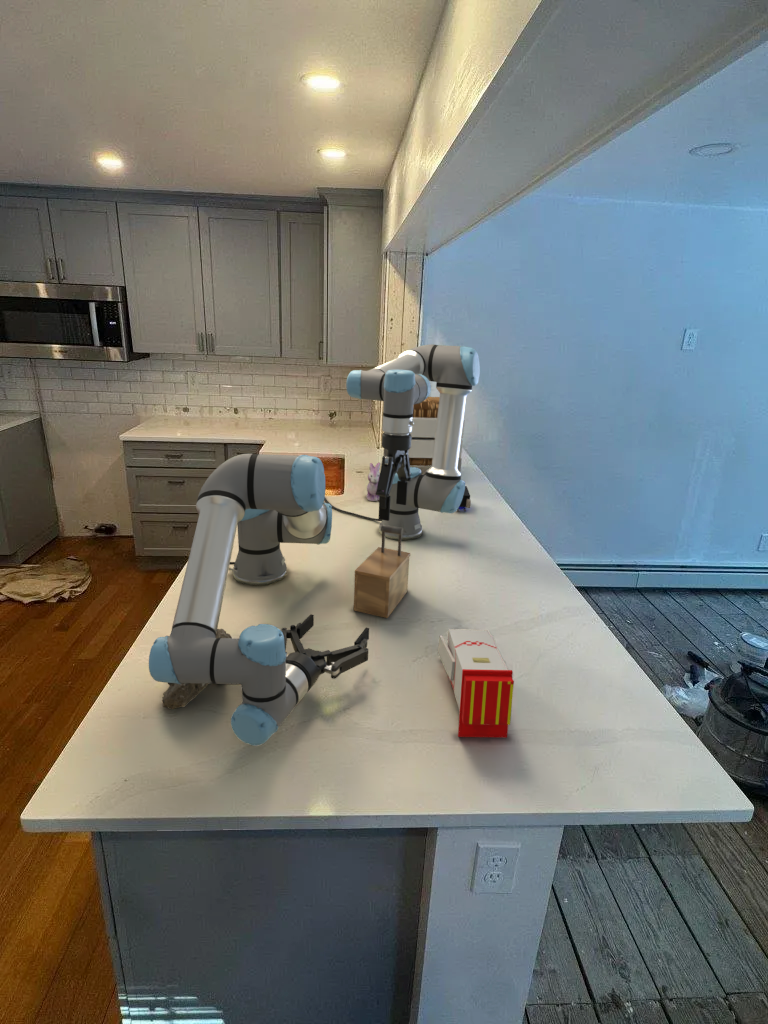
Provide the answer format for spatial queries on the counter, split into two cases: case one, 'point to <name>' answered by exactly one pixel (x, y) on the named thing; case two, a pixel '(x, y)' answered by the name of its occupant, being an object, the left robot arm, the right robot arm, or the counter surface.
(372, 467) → the figurine
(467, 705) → the toy
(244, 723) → the left robot arm
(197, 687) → the fossil
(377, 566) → the lid
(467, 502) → the figurine character
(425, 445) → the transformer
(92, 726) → the counter surface
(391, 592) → the chest
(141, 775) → the counter surface
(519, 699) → the counter surface
